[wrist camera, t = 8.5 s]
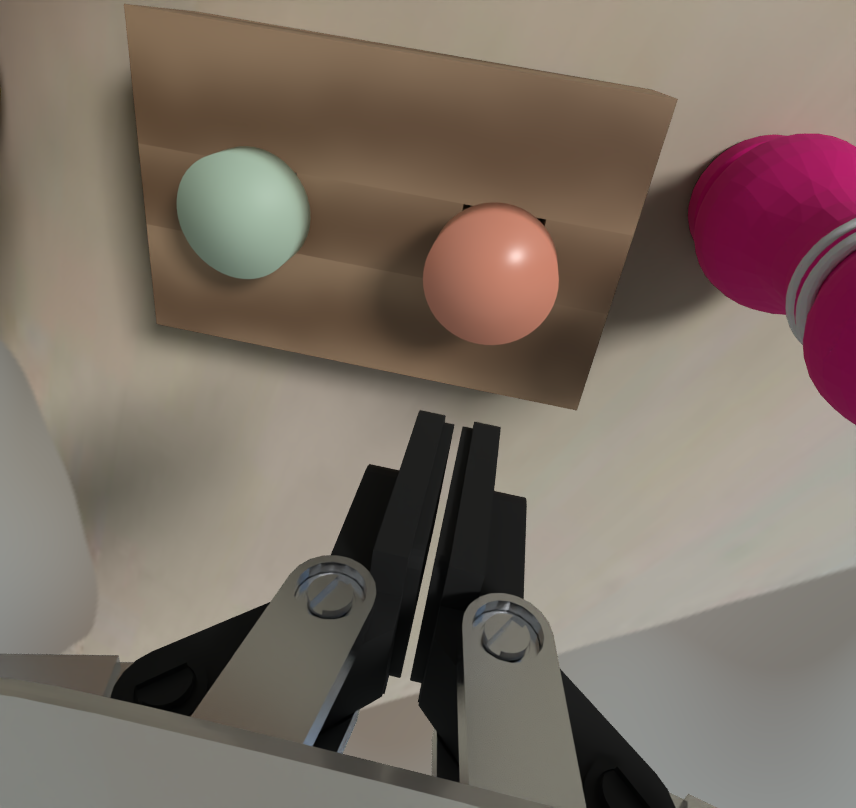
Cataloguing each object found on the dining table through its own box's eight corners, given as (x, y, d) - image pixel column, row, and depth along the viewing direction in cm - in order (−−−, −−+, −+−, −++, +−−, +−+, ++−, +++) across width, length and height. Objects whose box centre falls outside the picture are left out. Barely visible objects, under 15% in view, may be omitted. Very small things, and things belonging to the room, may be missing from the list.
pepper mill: (749, 302, 32) (988, 592, 15) (645, 221, 31) (775, 436, 14) (874, 184, 28) (1378, 392, 11) (761, 88, 27) (1135, 155, 10)
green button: (248, 122, 31) (171, 142, 24) (348, 140, 30) (296, 165, 24) (250, 225, 33) (181, 266, 27) (341, 242, 33) (293, 289, 27)
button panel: (196, 11, 29) (123, 3, 24) (652, 89, 28) (677, 99, 23) (210, 285, 36) (156, 323, 31) (571, 357, 35) (576, 410, 30)
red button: (457, 167, 28) (433, 202, 22) (567, 187, 28) (575, 228, 22) (440, 273, 31) (414, 331, 25) (540, 292, 31) (540, 356, 24)
